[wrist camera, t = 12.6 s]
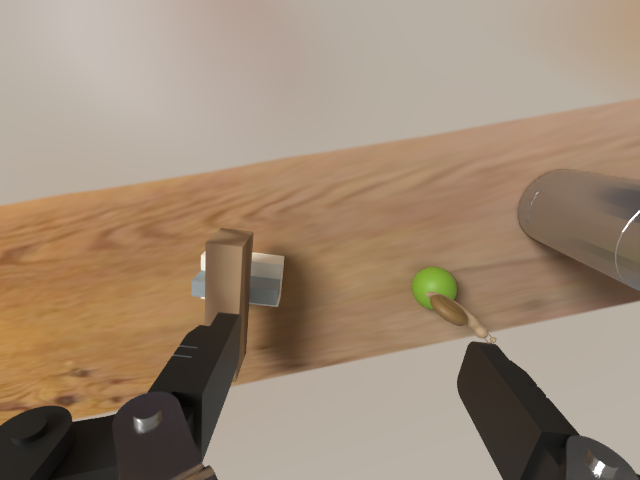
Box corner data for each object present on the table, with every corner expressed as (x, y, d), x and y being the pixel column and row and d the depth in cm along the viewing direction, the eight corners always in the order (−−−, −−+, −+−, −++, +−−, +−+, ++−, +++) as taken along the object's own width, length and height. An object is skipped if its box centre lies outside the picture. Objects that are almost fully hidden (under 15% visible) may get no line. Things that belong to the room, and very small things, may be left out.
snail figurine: (439, 305, 45) (479, 364, 33) (399, 286, 44) (426, 340, 32) (461, 273, 43) (511, 324, 32) (421, 253, 42) (457, 298, 31)
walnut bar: (253, 231, 35) (242, 247, 30) (245, 352, 40) (235, 381, 35) (221, 228, 35) (205, 242, 30) (218, 349, 40) (204, 378, 35)
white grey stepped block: (284, 256, 42) (278, 275, 37) (280, 296, 44) (274, 320, 39) (209, 247, 42) (191, 264, 36) (208, 287, 44) (191, 310, 38)
